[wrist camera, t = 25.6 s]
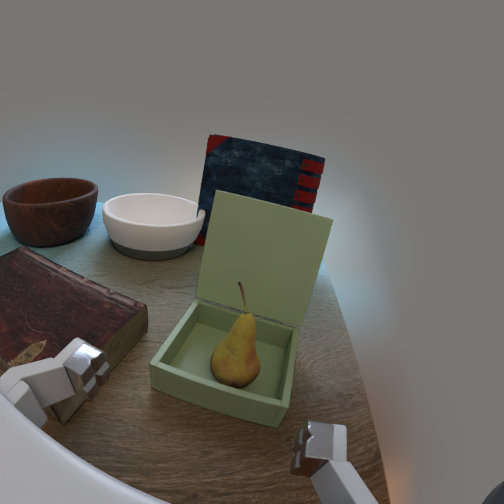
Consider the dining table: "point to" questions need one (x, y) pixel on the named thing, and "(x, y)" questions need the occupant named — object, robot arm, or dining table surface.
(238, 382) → the fruit
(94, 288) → the hardback book
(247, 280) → the chest lid
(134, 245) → the bowl
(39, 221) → the wooden bowl
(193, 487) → the dining table surface
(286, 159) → the book
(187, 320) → the chest
